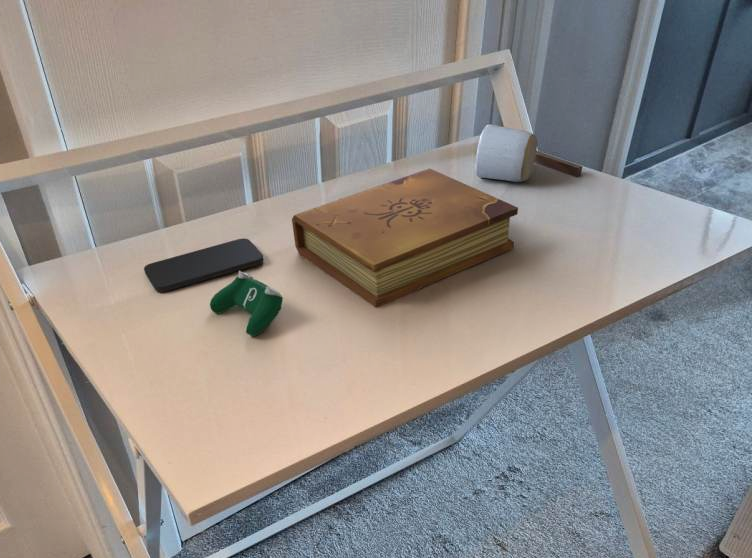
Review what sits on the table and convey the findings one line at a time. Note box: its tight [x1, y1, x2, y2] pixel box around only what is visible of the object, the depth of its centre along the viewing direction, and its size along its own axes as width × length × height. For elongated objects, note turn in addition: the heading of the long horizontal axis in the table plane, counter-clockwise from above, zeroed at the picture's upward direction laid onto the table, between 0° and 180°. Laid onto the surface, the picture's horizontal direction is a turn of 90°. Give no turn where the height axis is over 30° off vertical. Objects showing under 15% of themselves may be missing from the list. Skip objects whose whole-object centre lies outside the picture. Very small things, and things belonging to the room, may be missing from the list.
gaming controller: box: [209, 270, 284, 338], centre depth 81 cm, size 9×4×6 cm
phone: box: [143, 238, 265, 293], centre depth 91 cm, size 7×1×15 cm
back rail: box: [534, 150, 583, 178], centre depth 112 cm, size 14×1×2 cm, turn 38°
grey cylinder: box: [475, 123, 538, 183], centre depth 107 cm, size 11×8×8 cm
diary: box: [291, 168, 519, 308], centre depth 90 cm, size 23×19×6 cm
